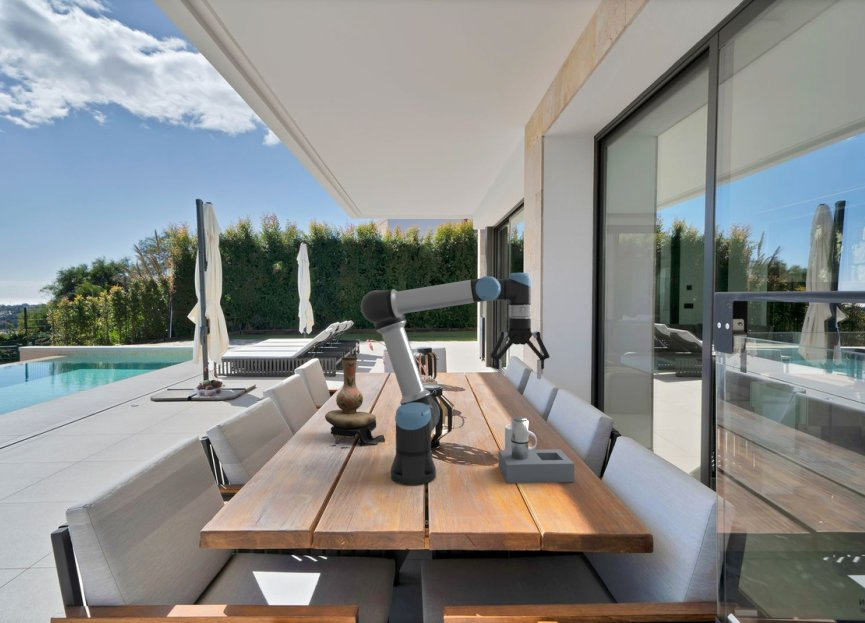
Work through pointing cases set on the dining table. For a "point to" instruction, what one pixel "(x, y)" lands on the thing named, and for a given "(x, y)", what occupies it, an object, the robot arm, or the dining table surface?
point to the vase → (351, 410)
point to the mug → (509, 436)
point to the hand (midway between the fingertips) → (519, 378)
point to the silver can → (519, 438)
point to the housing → (536, 467)
